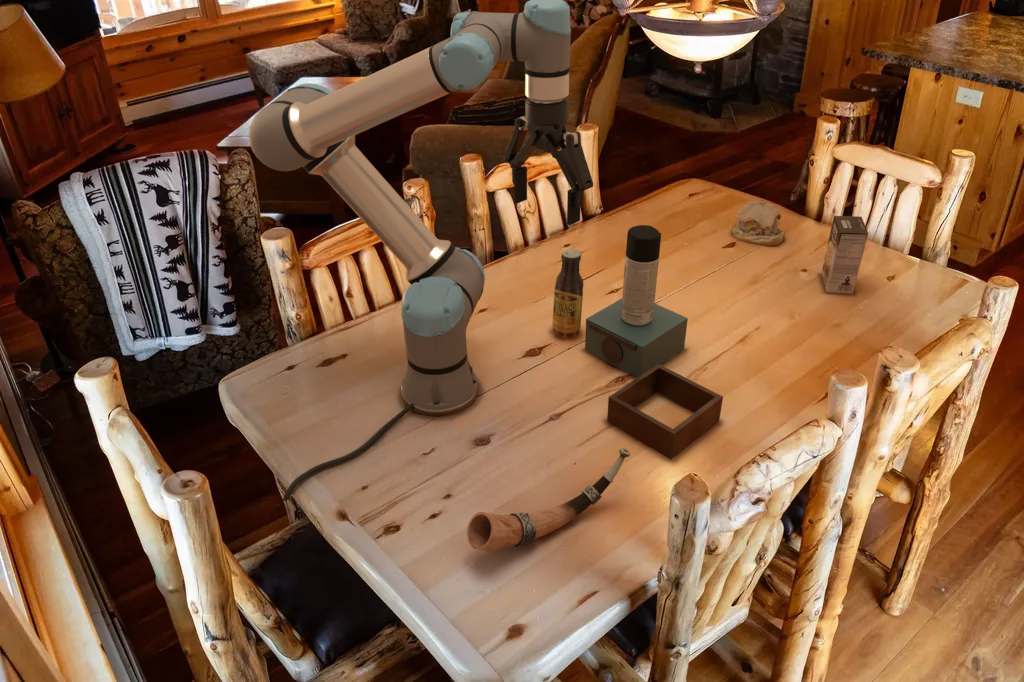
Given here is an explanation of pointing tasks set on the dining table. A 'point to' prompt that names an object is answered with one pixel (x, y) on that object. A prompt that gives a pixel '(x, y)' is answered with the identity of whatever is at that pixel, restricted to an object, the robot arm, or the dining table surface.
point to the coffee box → (844, 254)
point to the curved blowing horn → (535, 517)
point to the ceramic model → (758, 224)
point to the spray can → (640, 275)
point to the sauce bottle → (568, 296)
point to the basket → (655, 431)
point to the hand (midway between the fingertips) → (546, 211)
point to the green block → (635, 338)
